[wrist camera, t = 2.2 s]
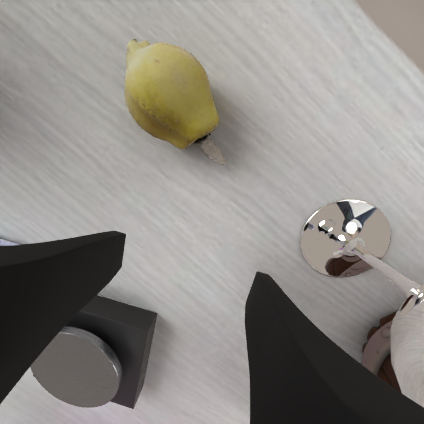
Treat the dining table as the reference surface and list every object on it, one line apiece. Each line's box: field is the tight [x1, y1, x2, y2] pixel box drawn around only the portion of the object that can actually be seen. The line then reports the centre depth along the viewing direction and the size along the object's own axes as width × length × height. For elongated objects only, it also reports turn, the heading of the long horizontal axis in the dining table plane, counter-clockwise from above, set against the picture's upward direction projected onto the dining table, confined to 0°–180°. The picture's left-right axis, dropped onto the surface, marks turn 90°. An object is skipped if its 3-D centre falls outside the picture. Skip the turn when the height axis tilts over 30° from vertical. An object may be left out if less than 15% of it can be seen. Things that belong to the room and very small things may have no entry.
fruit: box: [125, 39, 226, 165], centre depth 15 cm, size 6×6×10 cm
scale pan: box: [30, 326, 123, 407], centre depth 21 cm, size 10×10×1 cm
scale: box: [33, 295, 157, 409], centre depth 23 cm, size 13×12×3 cm
